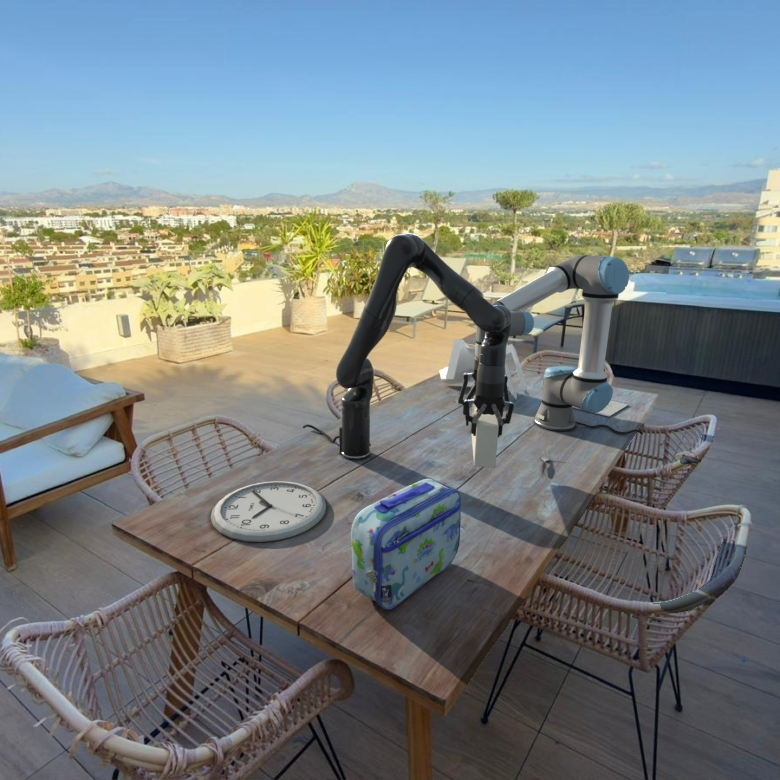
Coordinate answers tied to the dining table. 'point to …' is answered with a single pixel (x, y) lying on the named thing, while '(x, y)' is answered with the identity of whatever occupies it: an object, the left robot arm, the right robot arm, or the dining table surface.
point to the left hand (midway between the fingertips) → (486, 435)
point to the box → (485, 440)
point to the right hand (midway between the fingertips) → (481, 425)
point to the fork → (545, 460)
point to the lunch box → (405, 541)
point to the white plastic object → (464, 363)
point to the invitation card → (611, 408)
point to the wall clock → (268, 511)
